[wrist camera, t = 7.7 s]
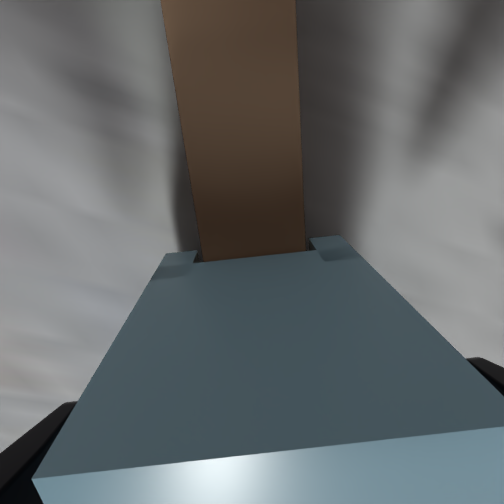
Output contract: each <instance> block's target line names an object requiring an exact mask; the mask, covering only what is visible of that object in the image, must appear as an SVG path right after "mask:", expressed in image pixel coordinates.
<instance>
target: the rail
mask: <svg viewBox="0 0 504 504" xmlns="http://www.w3.org/2000/svg"><path fill="white" fill-rule="evenodd" d="M161 6H162V12H163V18H164V24H165V30H166V37H167V43H168V49H169V55H170V61H171V67H172V73H173V79H174V85H175V91H176V97H177V103H178V110H179V116H180V122H181V128H182V134H183V140H184V146H185V152H186V158H187V164H188V170H189V177H190V183H191V189H192V195H193V201H194V207H195V213H196V219H197V225H198V231H199V237H200V243H201V250H202V256H203V262H210V261H219V260H229V259H238V258H247V257H256V256H266V255H275V254H284V253H294V252H303V251H306V243H305V219H304V195H303V171H302V147H301V123H300V99H299V75H298V50H297V26H296V2H295V0H161Z"/></svg>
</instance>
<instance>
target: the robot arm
mask: <svg viewBox="0 0 504 504" xmlns="http://www.w3.org/2000/svg"><path fill="white" fill-rule="evenodd" d="M466 360H467V361H468V362H469V363H470V364H471V365H472V366H473V367H474V368H475V369H476V370H477V371H478V372H479V373H480V374H481V375H482V376H483V377H484V378H485V379H487V380H488V381H489V382H490V383H491V384H492V385H493V386H494V387H495V388H496V389H497V390H498V391H499V392H500V393H501V394H502V395H503V396H504V368H503V367H501V366H499V365H497V364H494V363H492V362H490V361H488V360H486V359H483V358H480V357H475V358H466ZM77 402H78V401H74V402H67V403H64V404H62V405H61V406H59V407H58V408H57V409H56V410H54V411H53V412H52V413H51V414H49V415H48V416H47V417H46V418H44V419H43V420H42V421H40V422H39V423H38V424H37V425H35V426H34V427H33V428H32V429H30V430H29V431H28V432H27V433H25V434H24V435H23V436H22V437H20V438H19V439H18V440H16V441H15V442H14V443H13V444H11V445H10V446H9V447H8V448H6V449H5V450H4V451H3V452H1V453H0V504H44V503H43V501H42V499H41V497H40V495H39V493H38V491H37V489H36V487H35V485H34V483H33V481H32V477H33V476H34V474H35V472H36V471H37V469H38V467H39V466H40V464H41V462H42V460H43V459H44V457H45V455H46V454H47V452H48V450H49V449H50V447H51V445H52V444H53V442H54V440H55V439H56V437H57V435H58V434H59V432H60V430H61V429H62V427H63V425H64V424H65V422H66V420H67V419H68V417H69V415H70V414H71V412H72V410H73V409H74V407H75V405H76V404H77Z"/></svg>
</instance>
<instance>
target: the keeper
mask: <svg viewBox="0 0 504 504" xmlns="http://www.w3.org/2000/svg"><path fill="white" fill-rule="evenodd" d="M32 481H33V483H34V485H35V487H36V489H37V491H38V493H39V495H40V497H41V499H42V501H43V503H44V504H504V396H503V395H502V394H501V393H500V392H499V391H498V390H497V389H496V388H495V387H494V386H493V385H492V384H491V383H490V382H489V381H488V380H487V379H485V378H484V377H483V376H482V375H481V374H480V373H479V372H478V371H477V370H476V369H475V368H474V367H473V366H472V365H471V364H470V363H469V362H468V361H467V360H466V359H465V358H464V357H463V356H462V355H461V354H460V353H459V352H458V351H457V350H456V349H455V348H454V347H453V346H452V345H451V344H450V343H449V342H448V341H447V340H446V339H445V338H444V337H443V336H442V335H441V334H440V333H439V332H438V331H437V330H436V329H435V328H434V327H433V326H432V325H431V324H430V323H429V322H428V321H427V320H426V319H425V318H424V317H422V316H421V315H420V314H419V313H418V312H417V311H416V310H415V309H414V308H413V307H412V306H411V305H410V304H409V303H408V302H407V301H406V300H405V299H404V298H403V297H402V296H401V295H400V294H399V293H398V292H397V291H396V290H395V289H394V288H393V287H392V286H391V285H390V284H389V283H388V282H387V281H386V280H385V279H384V278H383V277H382V276H381V275H380V274H379V273H378V272H377V271H376V270H375V269H374V268H373V267H372V266H371V265H370V264H369V263H368V262H367V261H366V260H365V259H364V258H363V257H362V256H361V255H359V254H358V253H357V252H356V251H355V250H354V249H353V248H352V247H351V246H350V245H349V244H348V243H347V242H346V241H345V240H344V239H343V238H342V237H341V236H340V235H335V236H326V237H316V238H309V251H303V252H294V253H284V254H275V255H266V256H256V257H247V258H238V259H229V260H219V261H210V262H201V263H199V258H198V252H197V250H195V251H186V252H177V253H167V254H166V255H165V256H164V258H163V260H162V261H161V263H160V265H159V266H158V268H157V270H156V271H155V273H154V275H153V276H152V278H151V280H150V281H149V283H148V285H147V286H146V288H145V290H144V291H143V293H142V295H141V296H140V298H139V300H138V302H137V303H136V305H135V307H134V308H133V310H132V312H131V313H130V315H129V317H128V318H127V320H126V322H125V323H124V325H123V327H122V328H121V330H120V332H119V333H118V335H117V337H116V338H115V340H114V342H113V343H112V345H111V347H110V348H109V350H108V352H107V353H106V355H105V357H104V358H103V360H102V362H101V363H100V365H99V367H98V368H97V370H96V372H95V373H94V375H93V377H92V378H91V380H90V382H89V384H88V385H87V387H86V389H85V390H84V392H83V394H82V395H81V397H80V399H79V400H78V402H77V404H76V405H75V407H74V409H73V410H72V412H71V414H70V415H69V417H68V419H67V420H66V422H65V424H64V425H63V427H62V429H61V430H60V432H59V434H58V435H57V437H56V439H55V440H54V442H53V444H52V445H51V447H50V449H49V450H48V452H47V454H46V455H45V457H44V459H43V460H42V462H41V464H40V466H39V467H38V469H37V471H36V472H35V474H34V476H33V477H32Z"/></svg>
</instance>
